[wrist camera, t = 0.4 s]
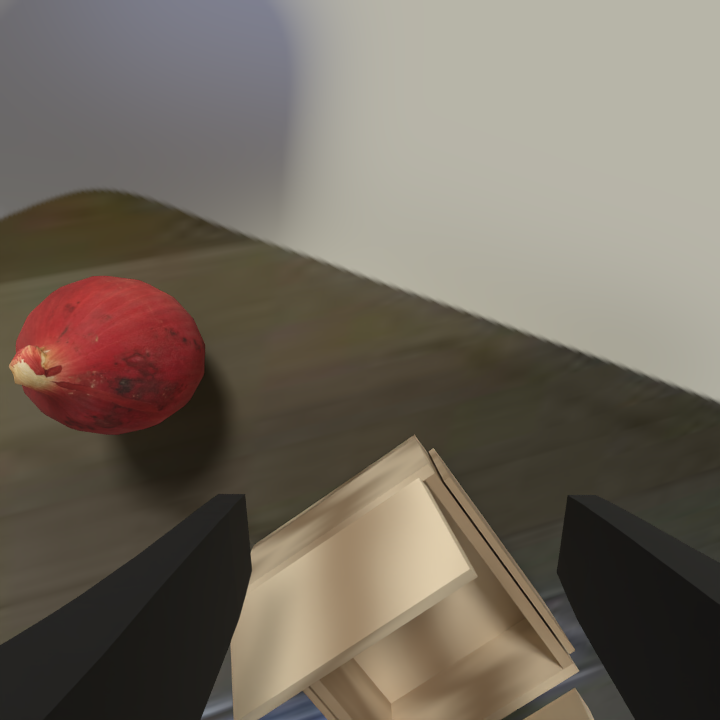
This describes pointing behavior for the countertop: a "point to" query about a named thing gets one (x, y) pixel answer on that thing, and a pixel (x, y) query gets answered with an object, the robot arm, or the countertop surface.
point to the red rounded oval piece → (109, 355)
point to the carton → (432, 612)
